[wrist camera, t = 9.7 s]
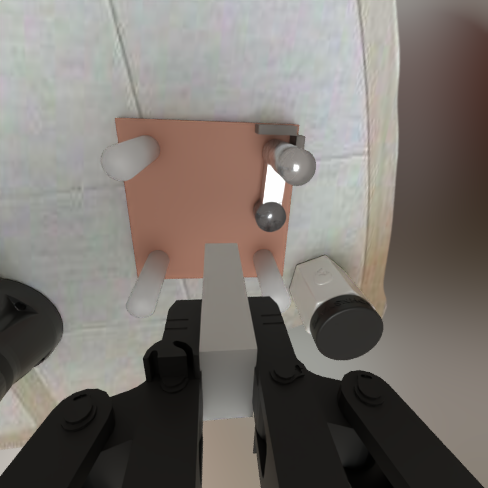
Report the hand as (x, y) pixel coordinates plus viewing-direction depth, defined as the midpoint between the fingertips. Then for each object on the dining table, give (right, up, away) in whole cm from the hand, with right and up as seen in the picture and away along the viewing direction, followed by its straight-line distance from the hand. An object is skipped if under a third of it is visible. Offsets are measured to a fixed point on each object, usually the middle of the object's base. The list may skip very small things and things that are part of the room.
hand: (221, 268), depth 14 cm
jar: (+12, -4, +30) cm, 33 cm away
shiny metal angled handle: (+4, +9, +20) cm, 23 cm away
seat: (-3, +6, +23) cm, 24 cm away
